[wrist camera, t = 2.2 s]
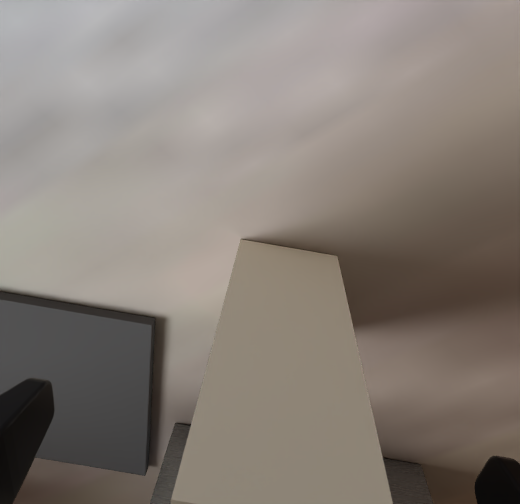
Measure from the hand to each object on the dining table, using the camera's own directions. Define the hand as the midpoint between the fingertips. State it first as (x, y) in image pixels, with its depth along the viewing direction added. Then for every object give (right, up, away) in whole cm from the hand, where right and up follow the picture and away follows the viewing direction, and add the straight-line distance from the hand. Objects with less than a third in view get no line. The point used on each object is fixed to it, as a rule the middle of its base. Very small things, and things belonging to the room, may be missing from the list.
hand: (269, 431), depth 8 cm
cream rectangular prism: (0, +2, +5) cm, 5 cm away
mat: (-8, -1, +7) cm, 11 cm away
